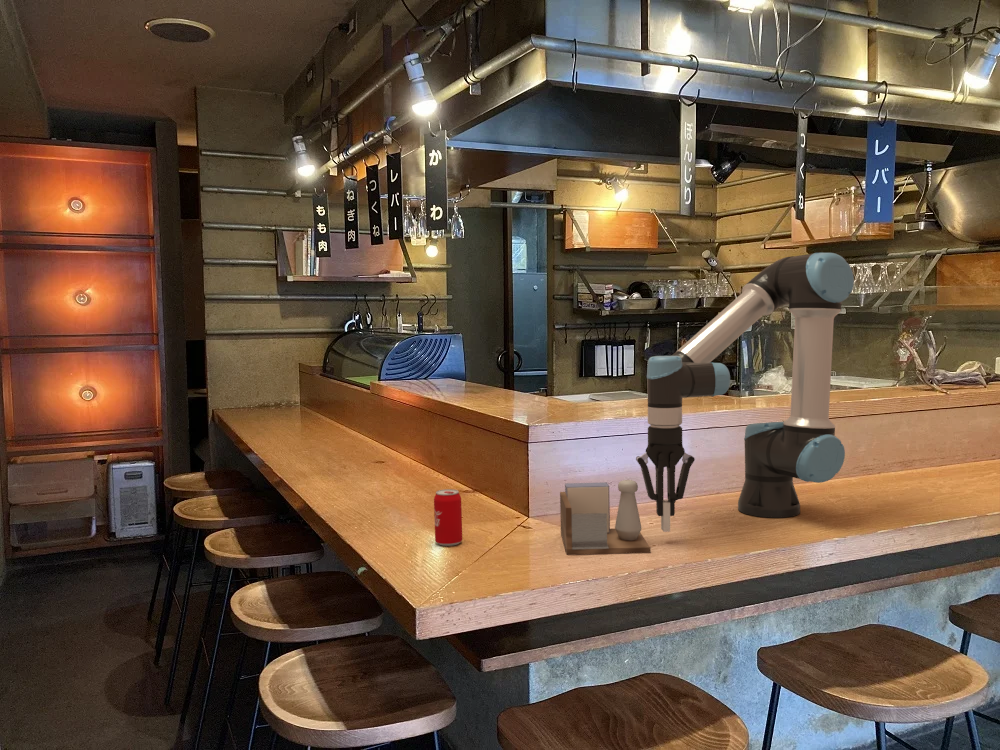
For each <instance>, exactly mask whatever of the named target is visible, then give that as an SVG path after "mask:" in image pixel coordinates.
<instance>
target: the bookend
mask: <svg viewBox="0 0 1000 750" xmlns="http://www.w3.org/2000/svg"><path fill="white" fill-rule="evenodd" d="M572 549H609V547H608V545H607V514H606V513H577V514H572Z"/></svg>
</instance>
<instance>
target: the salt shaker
mask: <svg viewBox="0 0 1000 750" xmlns="http://www.w3.org/2000/svg"><path fill="white" fill-rule="evenodd" d="M617 489H618V492H620V496H619V502H618V507H617V514H616V517H615V518H616V519H615V525H614V529H615V530H616V532H617V534H618V536H619V538H620V539H622V540H628V541H632V540H637V538H638V536H639V534H640V533H641V531H642V528H643V527H642V524H641V523H642V522H641V518H640V512H639V508H638V504H637V498H636V492H637V491H638V489H639V487H638V482H637V481H636V480H633V479H623V480H620V481H619V482H618V483H617Z"/></svg>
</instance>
